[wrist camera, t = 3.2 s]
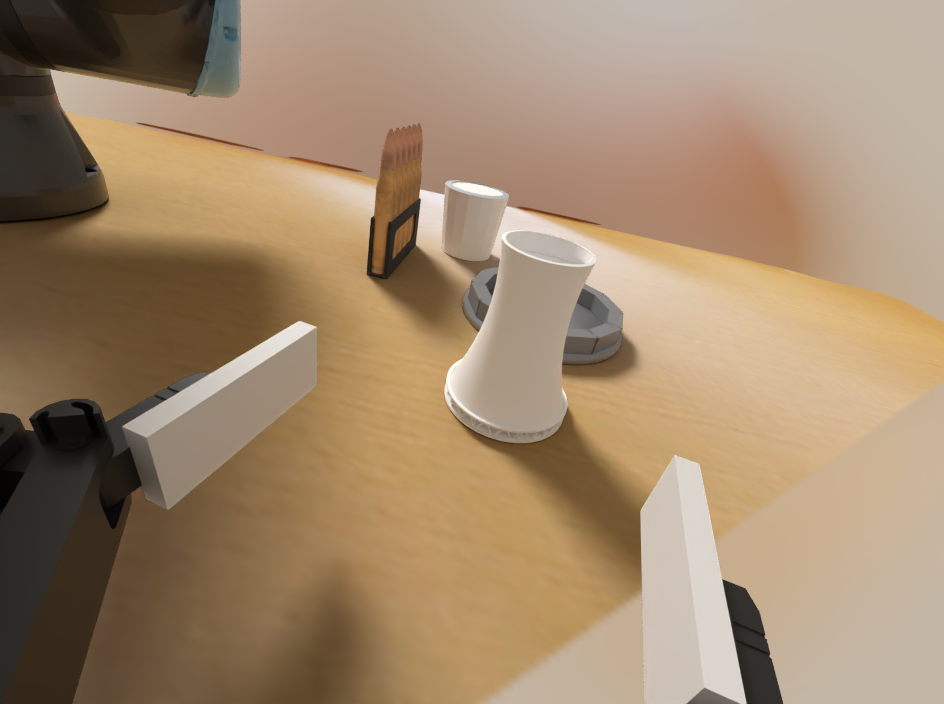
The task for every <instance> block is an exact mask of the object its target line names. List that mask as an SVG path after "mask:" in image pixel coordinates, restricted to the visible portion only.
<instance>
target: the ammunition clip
mask: <svg viewBox="0 0 944 704" xmlns="http://www.w3.org/2000/svg"><path fill="white" fill-rule="evenodd" d="M422 142H423V141H422V129H421V125H420V124H419V123H418V124H417V126H416V125H412V127H410V126H407V128H406V129H405V127H402V128H401V130H399V128H396V129H395V131H394V132H393V130H392V129H390V130H389V132H388V133H387V136H386V139H385V142H384V146H383V151H382V157H381V167H380V173H379V179H378V182H377V187H376V199H375V213H374V216H373V217H372V218H371V225H370V238H369V251H368V264H367V274H369V275H373V276H377V277H381V278H386V279H387V278H388V277H389V276H390V274H391V273H392V272H393V271H394V270H395V269H396V267H397V266H398V265H399V264H400V263H401V261H402V260H403V259H404V258H405V257H406V256H407V254H408V253H409V252H410V251H411V250H412V249H413V247H414V246H415V245H416V236H417V227H418V219H419V210H420V201H421V199H420V198H419V192H420V184H421V173H422V172H421V160H422V157H421V155H422Z"/></svg>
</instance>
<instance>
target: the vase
mask: <svg viewBox="0 0 944 704" xmlns="http://www.w3.org/2000/svg"><path fill="white" fill-rule="evenodd" d="M555 257H556V258H555ZM596 261H597V259H596V257H595V255H594V254H593V253H592V252H591V251H589V250H588V249H586V248H584V247H583V246H581V245H579V244H577V243H574V242H572V241H569V240H567V239H564V238H561V237H557V236H554V235H550V234H545V233H540V232H534V231H523V230H517V231H509V232H506V233H504V234H503V235H502V244H501V255H500V262H499V269H498V275H497V280H496V285H495V289H494V293H493V296H492V300H491V303H490V306H489V309H488V312H487V315H486V317H485V320H484V322H483V324H482V327H481V329H480V331H479V333H478V335H477V337H476V339H475V340H474V342H473V344H472V346H471V347H470V349H469V350H468V352H467V353H466V355H465V356H464V358H463V359H461V360H459V361H457V362H456V363H455V364H454V365H453V366H452V367H451V368H450V370H449V372H448V374H447V379H446V385H445V390H444V395H445V400H446V403H447V405H448V407H449V409H450V410H451V412H452V413H453V414H454V415H455V416H456V418H457V419H458V420H460V421H461V422H462V423H463V424H464V425H466V426H467V427H469V428H470V429H472V430H474V431H475V432H477V433H479V434H481V435H484V436H486V437H489V438H492V439H495V440H499V441H503V442H509V443H532V442H537V441H541V440H544V439H546V438H548V437H550V436H551V435H553V434H554V433H555V432H556V431H557V430H558V429H559V427H560V426H561V423H562V421H563V418H564V416H565V414H566V411H567V406H568V403H567V397H566V394H565V392H564V390H563V389H562V360H563V351H564V345H565V340H566V335H567V331H568V327H569V323H570V320H571V316H572V313H573V311H574V308H575V305H576V302H577V300H578V298H579V295H580V293H581V291H582V288H583V286H584V284H585V282H586V280H587V278H588V276H589V274H590V272H591V270H592V268H593V266H594V265H595V263H596ZM563 401H564V402H563Z"/></svg>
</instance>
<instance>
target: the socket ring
mask: <svg viewBox="0 0 944 704" xmlns="http://www.w3.org/2000/svg"><path fill="white" fill-rule="evenodd" d="M498 269H499V267H495V268H489V269H484V270H482V271H481V272H480V273H479V274H478V275H477V276H476V277H475V278H474V279H473V280H472V281H471V285H470V288H469V289H468V290H467V291H466V292H465V295H464V299H463V311H464V314H465V316H466V318H467V319H468V321H469V322H470V323H471V324H472V325H473V326H474V327H475V328H476V329H477V330H478V331H480V329H481V327H482V324H483V322H484V320H485V317H486V315H487V312H488V309H489V306H490V303H491V300H492V296H493V293H494V289H495V285H496V280H497V275H498ZM622 325H623V313H622V311H621V310H620V309H619V308H618V307H617V306H616V305H615V304H614V303H613V302H612V301H611V300H610V299H609V298H608V297H607V296H606V295H604V294H603V293H601V292H599V291H597V290H595V289H593V288H591V287H590V286H588V285H586V284H584V286H583V288H582V291H581V293H580V295H579V298H578V300H577V302H576V305H575V308H574V311H573V313H572V316H571V320H570V323H569V327H568V331H567V335H566V340H565V345H564V351H563V360H562V364H570V365H584V364H593V363H598V362H602V361H605V360H607V359H609V358H611V357H612V356H613V355H615V354H616V353H617V351H618V349H619V347H620V345H621V343H622V332H621V330H622Z"/></svg>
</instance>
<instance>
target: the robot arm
mask: <svg viewBox="0 0 944 704" xmlns="http://www.w3.org/2000/svg"><path fill="white" fill-rule="evenodd" d="M240 16H241V14H240V0H0V221H10V220H27V219H38V218H47V217H55V216H62V215H67V214H73V213H77V212H81V211H85V210H89V209H92V208H94V207H97V206H99V205H101V204H103V203H104V202H105V201H106V200H107V199H108V197H109V195H108V191H107V187H106V183H105V179H104V175H103V173H102V171H101V169H100V167H99V166H98V164H97V163H96V161H95V159H94V158H93V156H92V155H91V153H90V151H89V150H88V148H87V147H86V145H85V144H84V142H83V140H82V139H81V137H80V136H79V134H78V133H77V131H76V129H75V128H74V126H73V125H72V123H71V122H70V120H69V118H68V117H67V115H66V114H65V112H64V111H63V109H62V107H61V105H60V103H59V100H58V97H57V94H56V91H55V87H54V84H53V80H52V77H51V72H50V69H52V70H57V71H62V72H69V73H75V74H80V75H86V76H92V77H98V78H103V79H109V80H116V81H121V82H127V83H132V84H137V85H143V86H148V87H153V88H159V89H164V90H169V91H175V92H180V93H185V94H187V95H188V96H192V97H197V96H199V95H203V96H211V97H218V98H229V97H232V96H233V95H235V94H236V93H237V91H238V90H239V87H240V73H241V72H240V70H241V66H240V65H241V17H240ZM316 386H317V327H315V326H312V325H310V324H307V323H304V322H301V321H298V322H296V323H295V324H293V325H291V326H289V327H288V328H286V329H284V330H283V331H281V332H279V333H278V334H276V335H274V336H273V337H271V338H269V339H268V340H266V341H264V342H263V343H261V344H259V345H258V346H256V347H254V348H253V349H251V350H249V351H248V352H246V353H244V354H243V355H241V356H239V357H237V358H236V359H234V360H232V361H231V362H229V363H227V364H226V365H224V366H222V367H221V368H219V369H217V370H216V371H214V372H212V373H211V374H207V373H204V372H201V373H198V374H195V375H192V376H188V377H185V378H183V379H181V380H179V381H178V382H176V383H174V384H172V385H170V386H169V387H168V388H167V389H163V390H162V391H160V392H158V393H156V394H155V396H154V397H152V396H151V397H149V398H148V399H146V400H144V401H142V402H141V403H139V404H137V405H135V406H134V407H132V408H130V409H128V410H127V411H125V412H123V413H121V414H120V415H118V416H116V417H114V418H113V419H111V420H109V421H107V422H106V423H105V420H104V417H103V414H102V411H101V409H100V406H99V405H98V404H97V403H96V402H94V401H91V400H88V399H70V400H64V401H59V402H56V403H53V404H50V405H47V406H46V407H44V408H42V409H40V410H38V411H37V412H35V413H34V414H33V415H32V416H31V417H30V418H29V420H30V422H31V424H32V426H33V429H34V431H31V430H25V428H24V426H23V424H22V422H21V420H20V419H19V418H18V417H16V416H15V415H13V414H7V413H0V704H72V702H73V699H74V696H75V692H76V689H77V685H78V682H79V679H80V675H81V672H82V668H83V665H84V662H85V658H86V655H87V652H88V648H89V645H90V641H91V638H92V635H93V631H94V628H95V624H96V621H97V618H98V614H99V611H100V608H101V604H102V601H103V597H104V594H105V591H106V587H107V584H108V580H109V577H110V574H111V570H112V567H113V564H114V560H115V557H116V553H117V550H118V547H119V543H120V540H121V536H122V533H123V530H124V526H125V523H126V520H127V516H128V513H129V509H130V506H131V494H130V493H132V492H133V491H134V490H136V489H137V488H139V487H140V486H142V489H143V493H144V496H145V499H146V500H147V501H150V502H152V503H154V504H156V505H158V506H160V507H162V508H164V509H166V510H169V509H170V508H171V507H173V506H174V505H175V504H176V503H177V502H178V501H180V500H181V499H182V498H183V497H184V496H186V495H187V494H188V493H189V492H190V491H192V490H193V489H194V488H195V487H196V486H198V485H199V484H200V483H201V482H202V481H204V480H205V479H206V478H207V477H208V476H210V475H211V474H212V473H213V472H214V471H216V470H217V469H218V468H219V467H220V466H222V465H223V464H224V463H225V462H226V461H228V460H229V459H230V458H231V457H232V456H233V455H235V454H236V453H237V452H238V451H239V450H241V449H242V448H243V447H244V446H245V445H247V444H248V443H249V442H250V441H251V440H253V439H254V438H255V437H256V436H257V435H259V434H260V433H261V432H262V431H263V430H265V429H266V428H267V427H268V426H269V425H271V424H272V423H273V422H274V421H275V420H277V419H278V418H279V417H280V416H281V415H283V414H284V413H285V412H286V411H287V410H288V409H290V408H291V407H292V406H293V405H294V404H296V403H297V402H298V401H299V400H300V399H302V398H303V397H304V396H305V395H306V394H308V393H309V392H310V391H311V390H312V389H314V388H315V387H316ZM640 515H641V561H642V605H643V606H642V607H643V651H644V698H645V699H644V700H645V704H783V701H782V697H781V694H780V690H779V686H778V682H777V678H776V674H775V670H774V666H773V663H772V659H771V658H770V657H769V655H770V651H769V648H768V643H767V639H765V632H764V628H763V624H762V621H761V616H760V613H759V610H758V609H757V607H756V605H755V604H754V602H753V600H752V599H751V597H750V595H749V594H748V592H747V590H746V589H745V588H743V587H740V586H738V585H735V584H733V583H730V582H727V581H725V580H723V579H722V576H721V572H720V567H719V561H718V556H717V551H716V546H715V541H714V536H713V531H712V526H711V521H710V515H709V510H708V505H707V500H706V495H705V490H704V485H703V480H702V475H701V470H700V465H699V464H698V463H695V462H692V461H690V460H687V459H684V458H681V457H679V456H676V455H674V457H673V459H672V460H671V462H670V463H669V465H668V467H667V468H666V470H665V471H664V473H663V475H662V476H661V478H660V480H659V481H658V483H657V484H656V486H655V488H654V489H653V491H652V493H651V494H650V496H649V497H648V499H647V501H646V502H645V504H644V505H643V507H642V509H641V510H640Z"/></svg>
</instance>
